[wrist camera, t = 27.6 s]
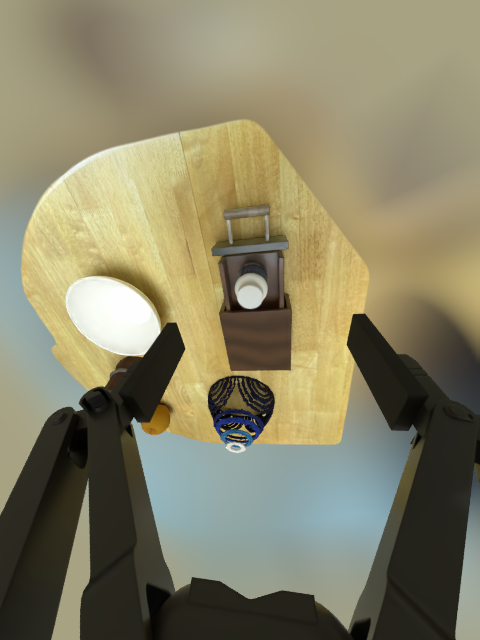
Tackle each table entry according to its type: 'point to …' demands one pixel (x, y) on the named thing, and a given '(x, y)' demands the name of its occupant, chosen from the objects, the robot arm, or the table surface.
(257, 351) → the cabinet
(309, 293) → the table surface
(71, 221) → the table surface
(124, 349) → the bowl
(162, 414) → the apple
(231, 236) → the drawer
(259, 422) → the blue openwork dome
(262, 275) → the pill bottle
